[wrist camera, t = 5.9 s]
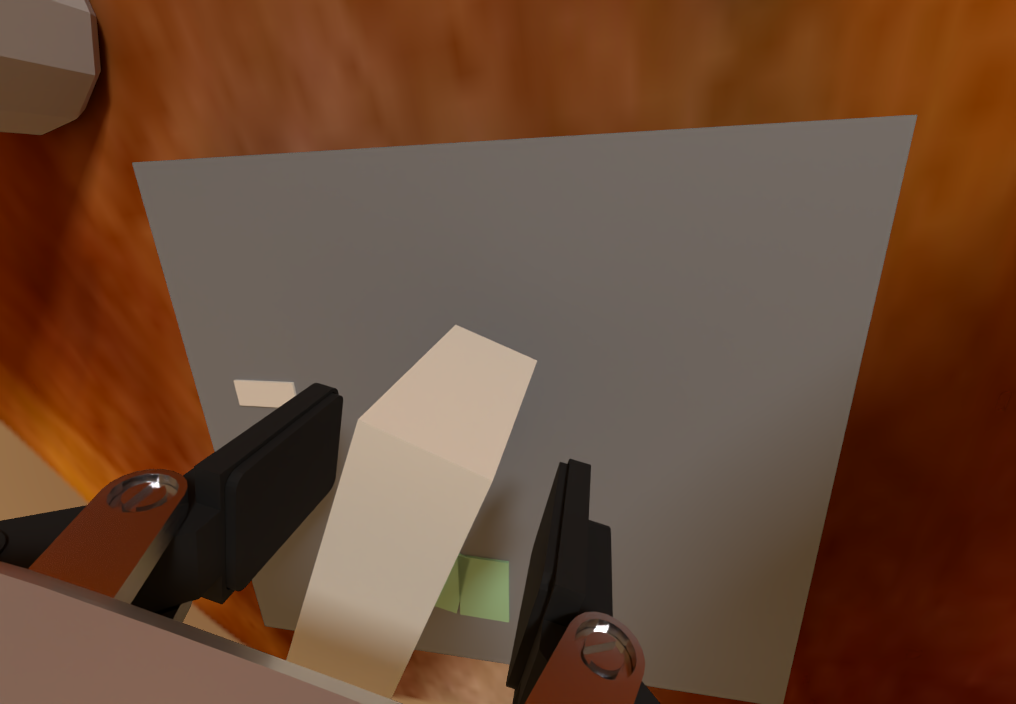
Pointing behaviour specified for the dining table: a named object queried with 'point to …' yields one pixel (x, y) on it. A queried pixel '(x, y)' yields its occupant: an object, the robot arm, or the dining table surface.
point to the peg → (407, 508)
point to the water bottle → (46, 63)
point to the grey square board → (568, 350)
